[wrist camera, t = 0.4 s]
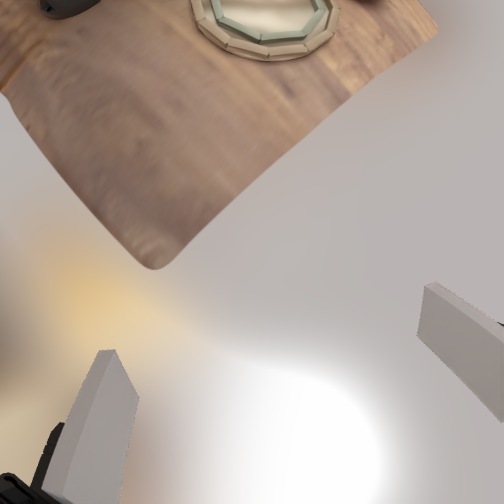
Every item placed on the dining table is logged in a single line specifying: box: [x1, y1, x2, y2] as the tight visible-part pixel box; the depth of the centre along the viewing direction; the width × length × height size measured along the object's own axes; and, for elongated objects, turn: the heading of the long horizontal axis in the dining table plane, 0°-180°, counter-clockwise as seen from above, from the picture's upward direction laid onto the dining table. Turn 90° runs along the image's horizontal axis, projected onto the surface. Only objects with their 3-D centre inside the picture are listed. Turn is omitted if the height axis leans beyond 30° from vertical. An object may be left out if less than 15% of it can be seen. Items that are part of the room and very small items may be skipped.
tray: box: [190, 0, 341, 61], centre depth 26 cm, size 20×20×3 cm
